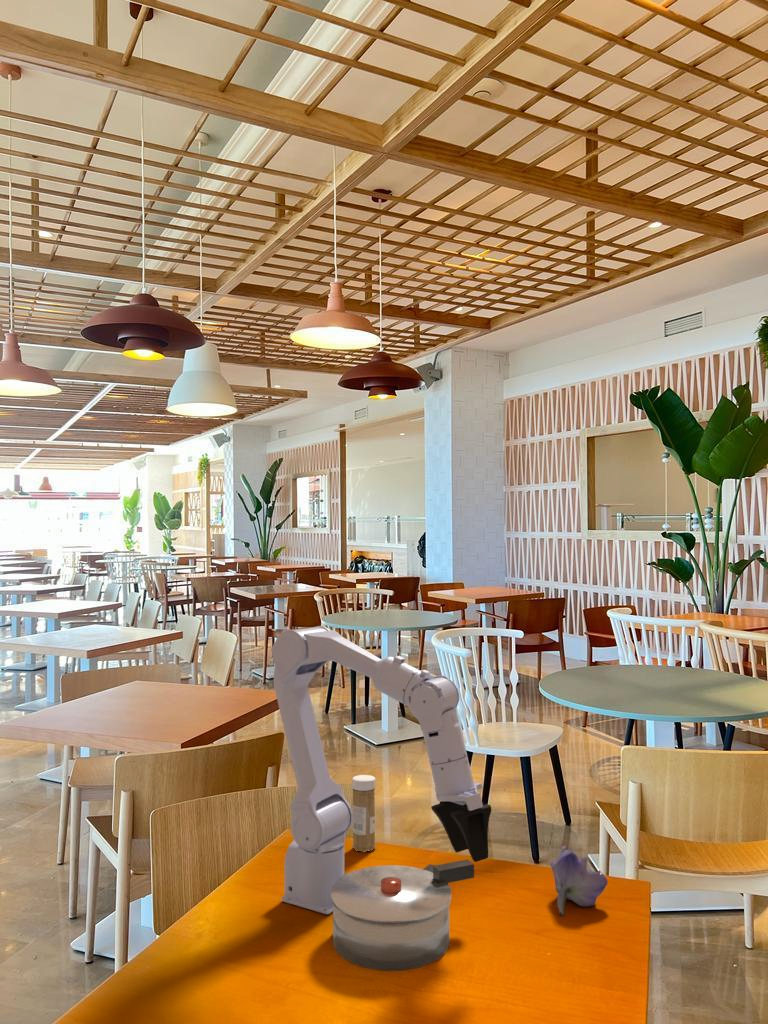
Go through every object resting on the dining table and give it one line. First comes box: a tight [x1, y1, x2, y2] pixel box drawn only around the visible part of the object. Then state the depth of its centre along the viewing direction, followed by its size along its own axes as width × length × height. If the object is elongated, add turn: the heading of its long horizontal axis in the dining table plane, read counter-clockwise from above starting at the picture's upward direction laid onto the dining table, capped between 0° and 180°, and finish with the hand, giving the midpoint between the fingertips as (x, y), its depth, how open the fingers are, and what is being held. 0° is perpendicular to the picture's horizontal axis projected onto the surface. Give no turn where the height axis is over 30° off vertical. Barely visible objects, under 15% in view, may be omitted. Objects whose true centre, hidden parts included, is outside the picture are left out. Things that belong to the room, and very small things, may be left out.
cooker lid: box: [331, 859, 475, 924], centre depth 111 cm, size 22×18×3 cm
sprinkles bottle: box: [351, 774, 377, 852], centre depth 144 cm, size 5×5×14 cm
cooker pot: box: [332, 863, 450, 972], centre depth 112 cm, size 23×17×6 cm
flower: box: [550, 845, 608, 917], centre depth 119 cm, size 9×9×10 cm
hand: (471, 854), depth 109 cm, fingers open, 7 cm apart
